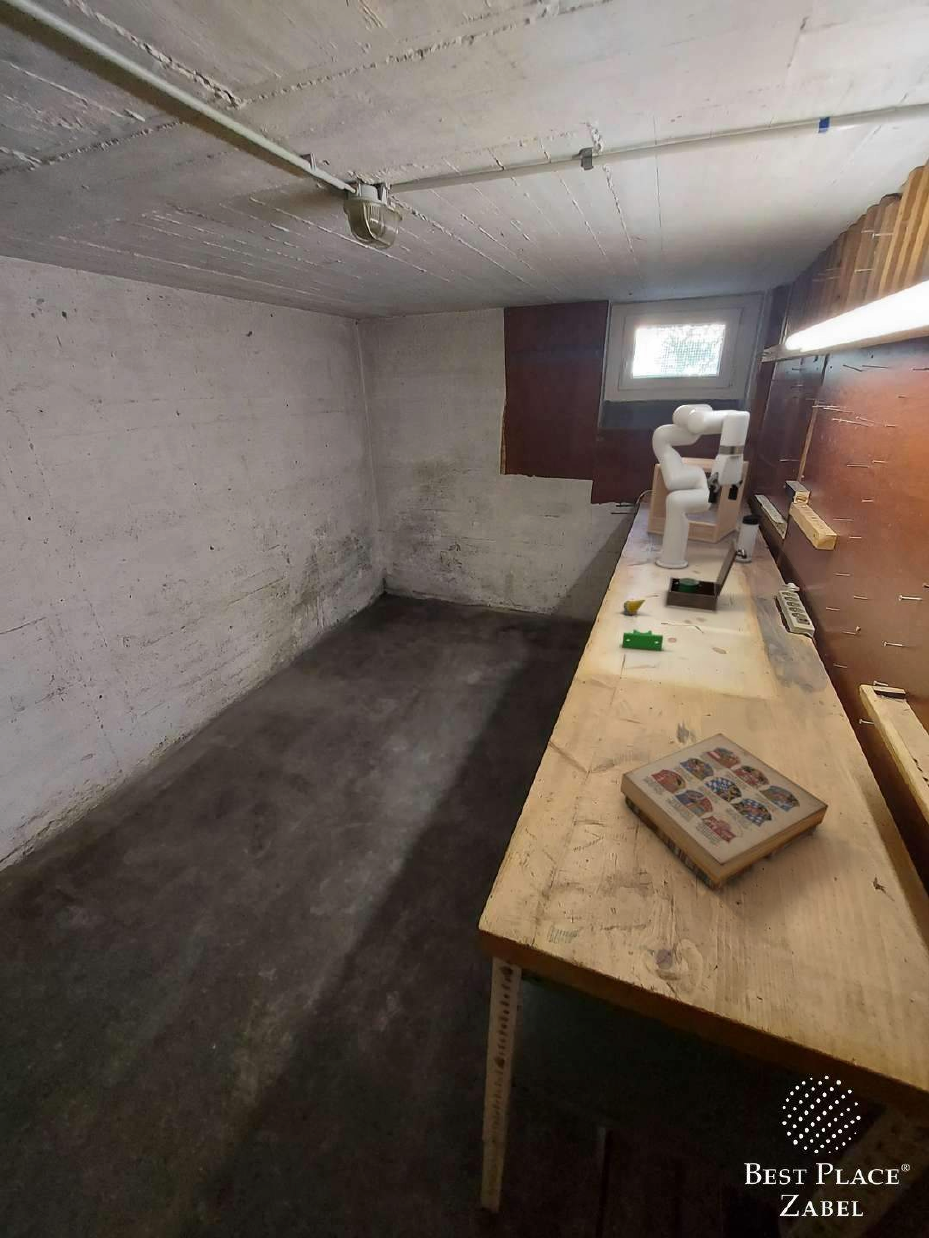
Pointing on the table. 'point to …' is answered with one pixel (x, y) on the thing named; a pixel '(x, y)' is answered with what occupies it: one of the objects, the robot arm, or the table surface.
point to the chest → (693, 596)
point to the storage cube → (696, 529)
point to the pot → (688, 585)
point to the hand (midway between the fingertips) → (722, 501)
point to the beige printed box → (720, 807)
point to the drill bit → (632, 607)
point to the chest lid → (728, 565)
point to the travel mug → (747, 536)
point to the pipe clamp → (642, 640)
